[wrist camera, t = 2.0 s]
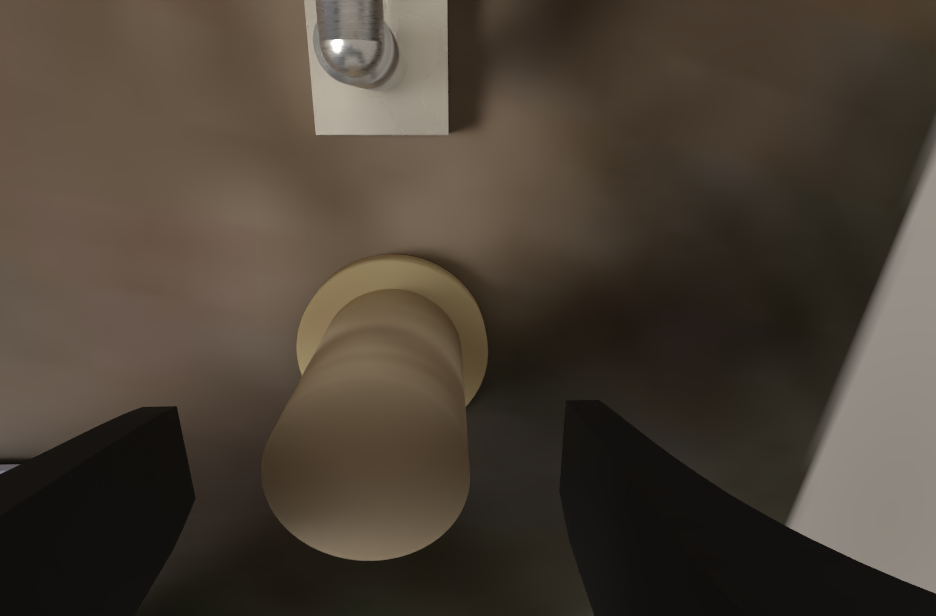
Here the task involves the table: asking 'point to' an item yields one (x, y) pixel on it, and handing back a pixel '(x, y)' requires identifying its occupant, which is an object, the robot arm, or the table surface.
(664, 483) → the robot arm
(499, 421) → the table surface
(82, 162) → the table surface
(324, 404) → the ringed peg
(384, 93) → the wire frame
